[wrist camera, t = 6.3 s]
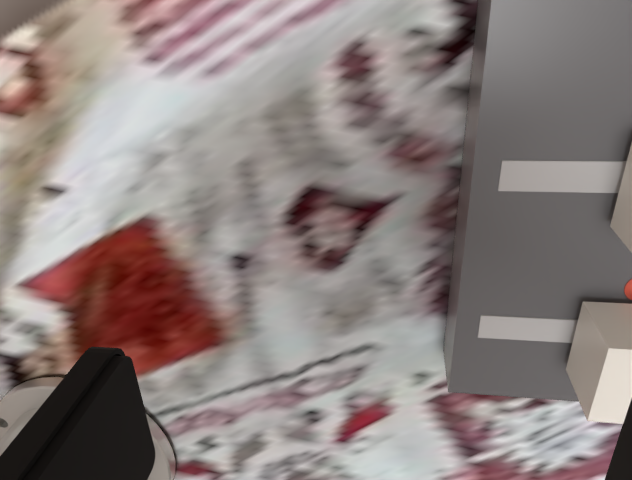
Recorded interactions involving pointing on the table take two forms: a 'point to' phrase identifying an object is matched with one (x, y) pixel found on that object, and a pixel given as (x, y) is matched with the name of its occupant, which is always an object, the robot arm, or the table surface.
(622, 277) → the power strip
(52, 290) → the table surface
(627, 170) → the middle switch
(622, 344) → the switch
